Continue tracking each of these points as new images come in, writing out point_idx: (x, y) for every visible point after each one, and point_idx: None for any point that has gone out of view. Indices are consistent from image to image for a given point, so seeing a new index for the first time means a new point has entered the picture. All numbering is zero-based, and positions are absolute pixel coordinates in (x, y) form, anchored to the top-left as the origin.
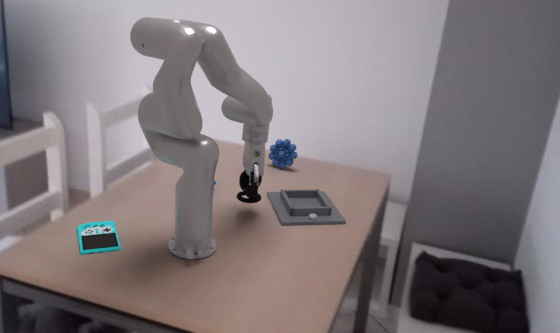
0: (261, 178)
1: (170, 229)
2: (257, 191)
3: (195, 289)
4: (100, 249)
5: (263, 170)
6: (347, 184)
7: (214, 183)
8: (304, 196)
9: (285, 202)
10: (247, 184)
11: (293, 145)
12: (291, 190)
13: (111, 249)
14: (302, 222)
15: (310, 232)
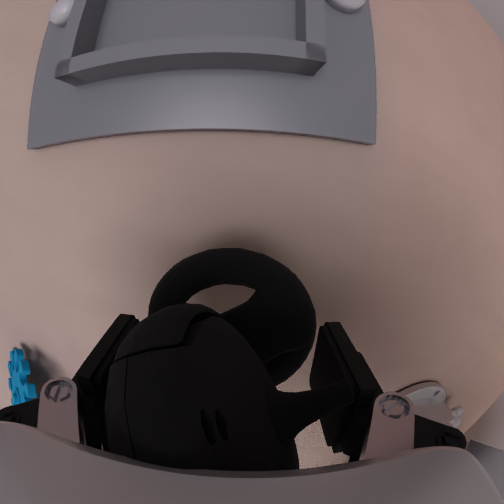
0: (191, 345)
1: (305, 458)
2: (352, 348)
3: (488, 385)
4: None
5: (501, 496)
6: None
7: (29, 367)
8: None
9: (183, 61)
10: (336, 450)
11: None
12: (74, 23)
13: None
14: (373, 51)
15: (421, 60)
